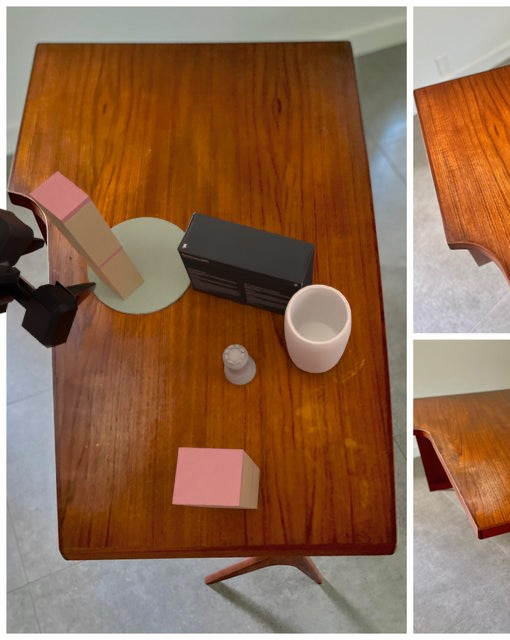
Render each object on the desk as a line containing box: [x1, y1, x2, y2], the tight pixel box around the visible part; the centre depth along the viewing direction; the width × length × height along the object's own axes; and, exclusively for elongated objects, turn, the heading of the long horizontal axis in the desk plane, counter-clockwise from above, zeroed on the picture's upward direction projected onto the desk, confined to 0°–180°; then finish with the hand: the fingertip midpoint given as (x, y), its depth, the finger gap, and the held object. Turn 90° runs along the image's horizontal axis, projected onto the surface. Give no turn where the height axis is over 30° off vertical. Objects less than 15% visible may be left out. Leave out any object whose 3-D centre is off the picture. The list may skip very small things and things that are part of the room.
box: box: [177, 211, 316, 316], centre depth 74 cm, size 17×7×12 cm, turn 74°
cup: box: [283, 284, 352, 374], centre depth 70 cm, size 8×8×14 cm
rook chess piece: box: [222, 343, 257, 386], centre depth 71 cm, size 4×4×8 cm
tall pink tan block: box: [171, 446, 261, 510], centre depth 59 cm, size 6×5×22 cm
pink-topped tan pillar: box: [29, 170, 145, 300], centre depth 68 cm, size 4×5×22 cm
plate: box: [86, 216, 192, 316], centre depth 80 cm, size 16×16×1 cm
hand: (68, 264), depth 66 cm, fingers open, 9 cm apart
